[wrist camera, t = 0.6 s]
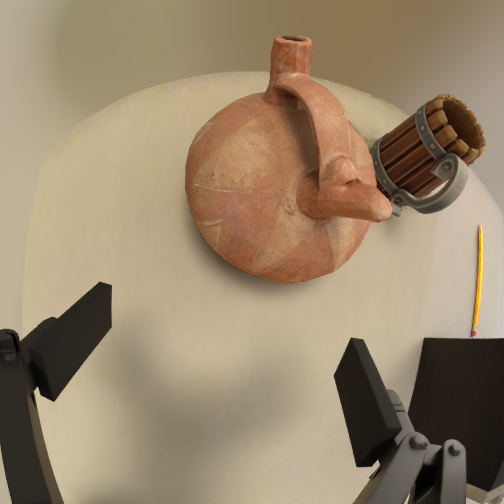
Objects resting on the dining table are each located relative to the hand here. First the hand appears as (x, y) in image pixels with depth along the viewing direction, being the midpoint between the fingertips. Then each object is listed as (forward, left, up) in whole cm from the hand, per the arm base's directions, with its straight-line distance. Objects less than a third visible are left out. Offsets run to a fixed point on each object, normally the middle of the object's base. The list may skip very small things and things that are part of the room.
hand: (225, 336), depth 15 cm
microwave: (-6, -38, -16) cm, 42 cm away
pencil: (+14, -40, -17) cm, 46 cm away
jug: (+14, -3, -17) cm, 22 cm away
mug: (+23, -20, -17) cm, 35 cm away
